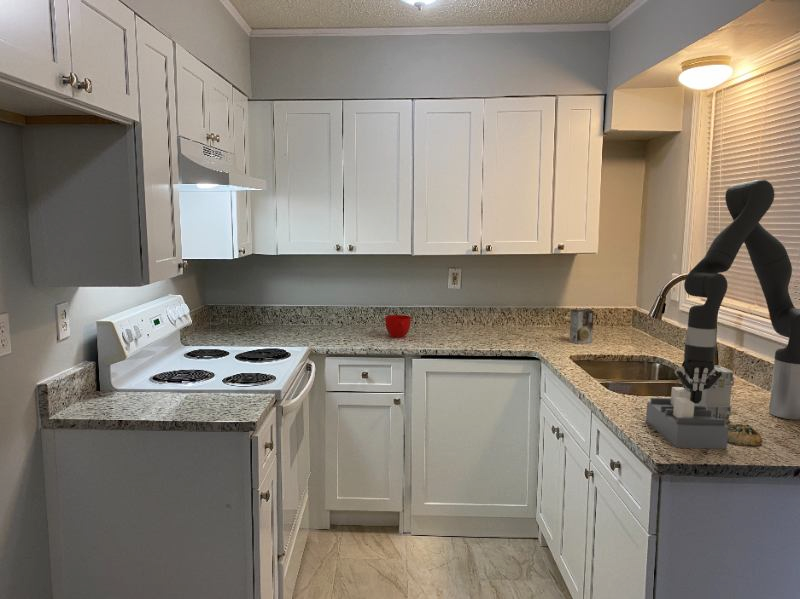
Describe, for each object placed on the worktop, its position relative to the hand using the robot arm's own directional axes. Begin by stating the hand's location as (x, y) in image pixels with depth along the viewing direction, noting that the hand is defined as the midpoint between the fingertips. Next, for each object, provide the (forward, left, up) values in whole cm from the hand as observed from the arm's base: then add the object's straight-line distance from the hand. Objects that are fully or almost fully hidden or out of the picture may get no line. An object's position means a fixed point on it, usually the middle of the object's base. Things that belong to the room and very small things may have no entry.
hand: (694, 402), depth 162 cm
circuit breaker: (-10, -14, -8) cm, 19 cm away
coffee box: (-1, -119, -8) cm, 119 cm away
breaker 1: (+4, 0, -2) cm, 4 cm away
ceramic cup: (+89, -120, -8) cm, 150 cm away
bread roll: (-9, +7, -8) cm, 14 cm away
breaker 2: (+8, +10, -2) cm, 13 cm away
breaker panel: (+5, +5, -8) cm, 10 cm away
